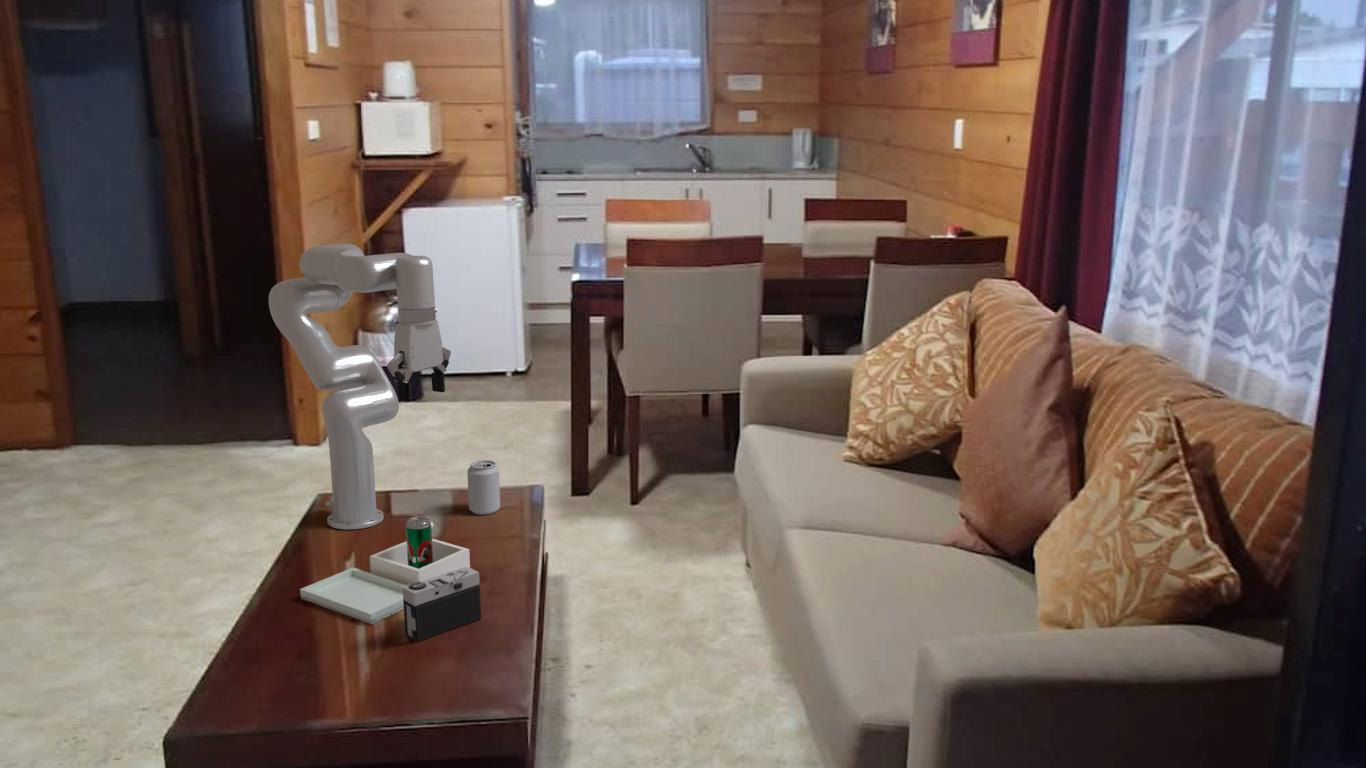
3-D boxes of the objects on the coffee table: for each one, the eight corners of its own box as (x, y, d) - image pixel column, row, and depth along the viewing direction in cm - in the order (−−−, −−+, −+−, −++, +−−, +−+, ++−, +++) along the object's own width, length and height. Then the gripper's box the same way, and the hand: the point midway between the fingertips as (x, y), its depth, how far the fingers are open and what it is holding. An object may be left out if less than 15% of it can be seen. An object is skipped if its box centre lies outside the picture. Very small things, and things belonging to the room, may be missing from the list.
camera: (458, 606, 206) (456, 557, 204) (482, 620, 201) (480, 570, 198) (393, 628, 197) (390, 578, 194) (416, 643, 191) (414, 591, 189)
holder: (371, 579, 218) (369, 556, 217) (422, 557, 230) (420, 535, 228) (420, 595, 211) (418, 571, 210) (470, 571, 222) (469, 549, 221)
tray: (300, 598, 209) (300, 589, 208) (353, 576, 219) (353, 567, 219) (371, 624, 198) (370, 614, 198) (423, 599, 209) (422, 590, 208)
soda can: (437, 571, 222) (434, 516, 220) (429, 581, 217) (426, 525, 215) (413, 570, 223) (410, 515, 220) (404, 579, 218) (401, 524, 215)
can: (497, 516, 254) (495, 468, 252) (465, 515, 255) (463, 467, 252) (503, 505, 262) (501, 458, 259) (472, 505, 262) (470, 458, 259)
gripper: (433, 309, 232) (438, 386, 236) (372, 320, 218) (378, 402, 221) (459, 311, 228) (464, 390, 232) (399, 322, 214) (405, 406, 217)
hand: (422, 396), depth 226 cm, fingers open, 9 cm apart
